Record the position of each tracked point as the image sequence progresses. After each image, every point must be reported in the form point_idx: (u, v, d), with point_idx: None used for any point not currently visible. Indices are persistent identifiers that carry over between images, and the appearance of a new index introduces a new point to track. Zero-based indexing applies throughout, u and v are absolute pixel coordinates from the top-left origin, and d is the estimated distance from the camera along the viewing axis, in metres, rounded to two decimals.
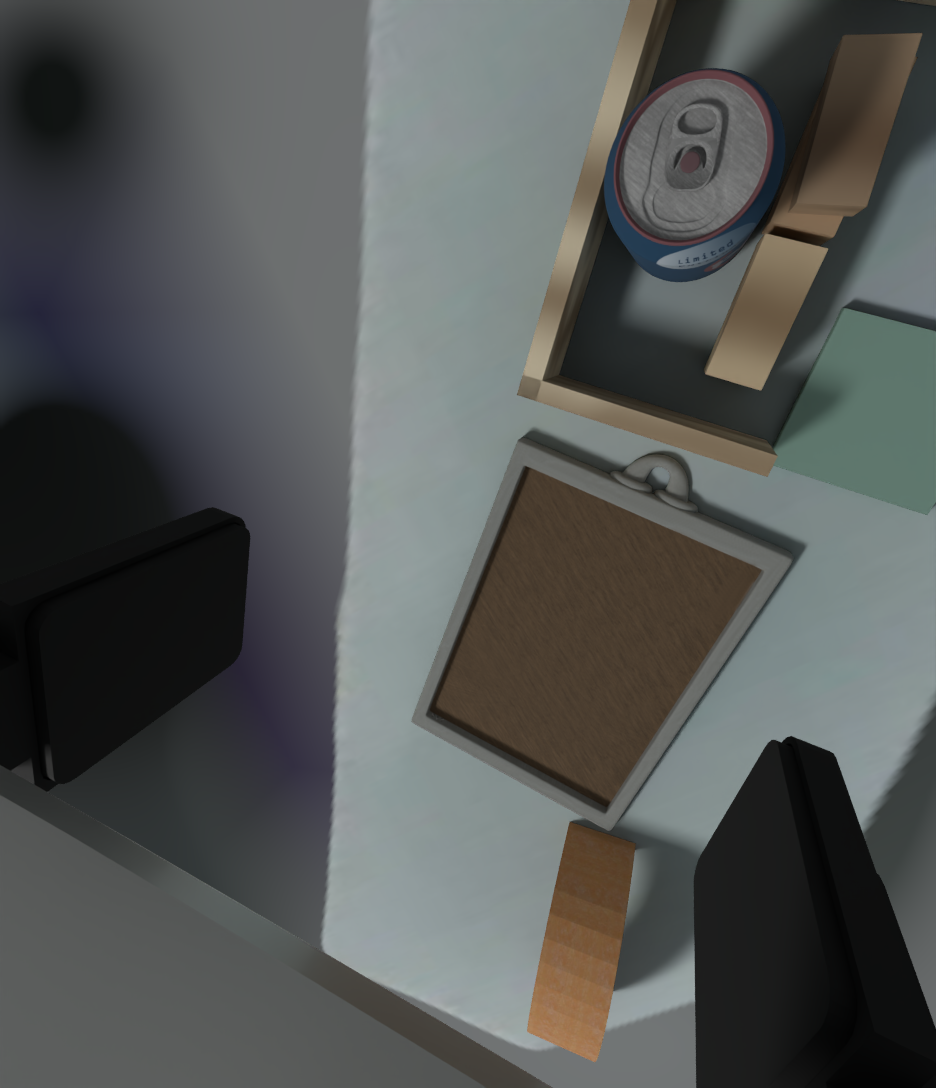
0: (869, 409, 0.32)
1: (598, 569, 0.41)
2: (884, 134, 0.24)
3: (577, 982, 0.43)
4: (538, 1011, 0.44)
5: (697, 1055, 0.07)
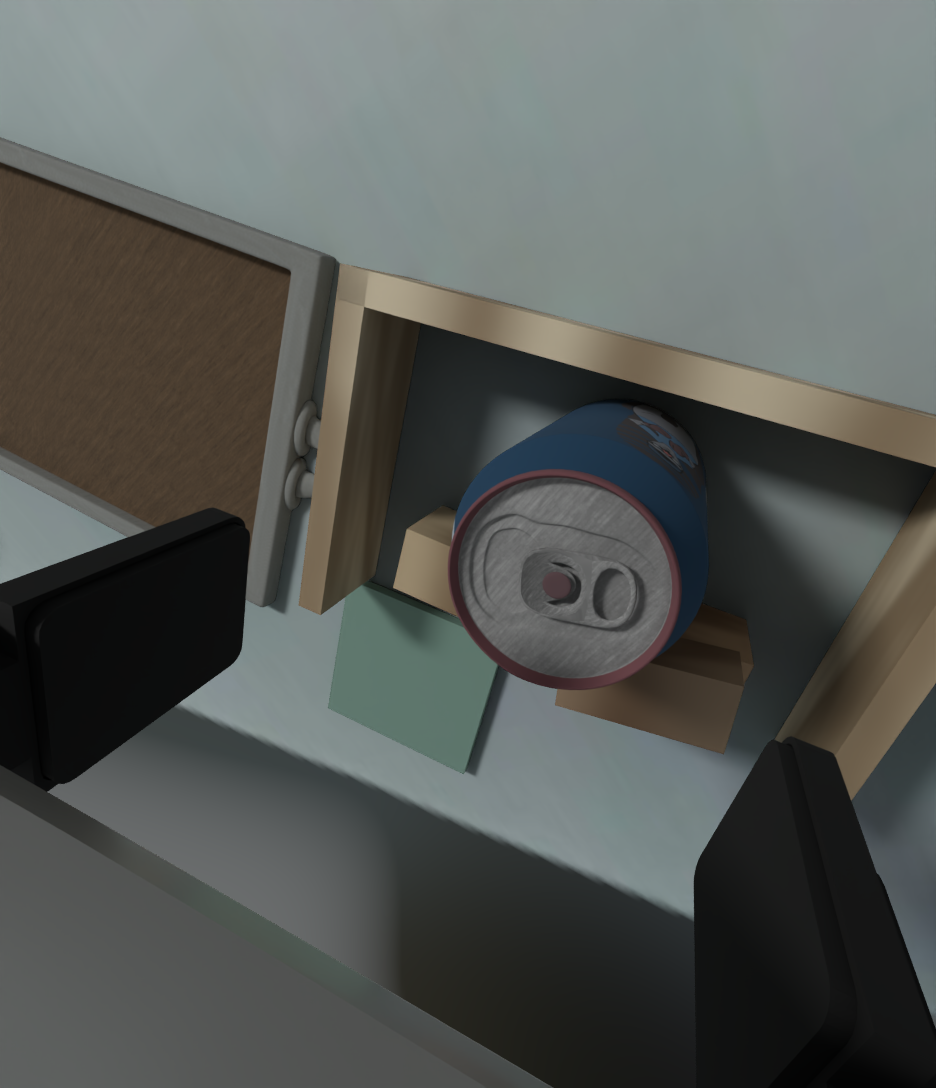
0: (410, 665, 0.31)
1: (201, 394, 0.31)
2: (626, 721, 0.21)
3: None
4: None
5: (697, 1055, 0.07)
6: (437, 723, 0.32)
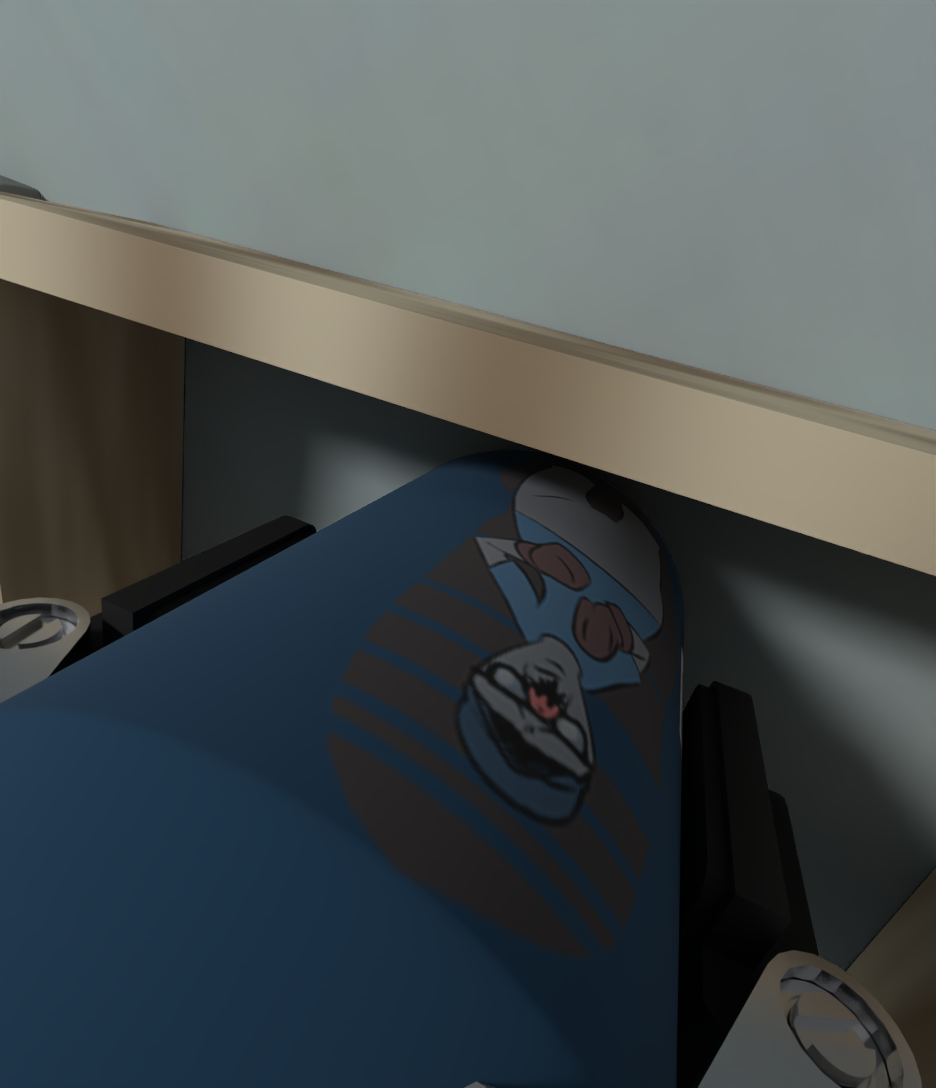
0: None
1: None
2: None
3: None
4: None
5: None
6: None
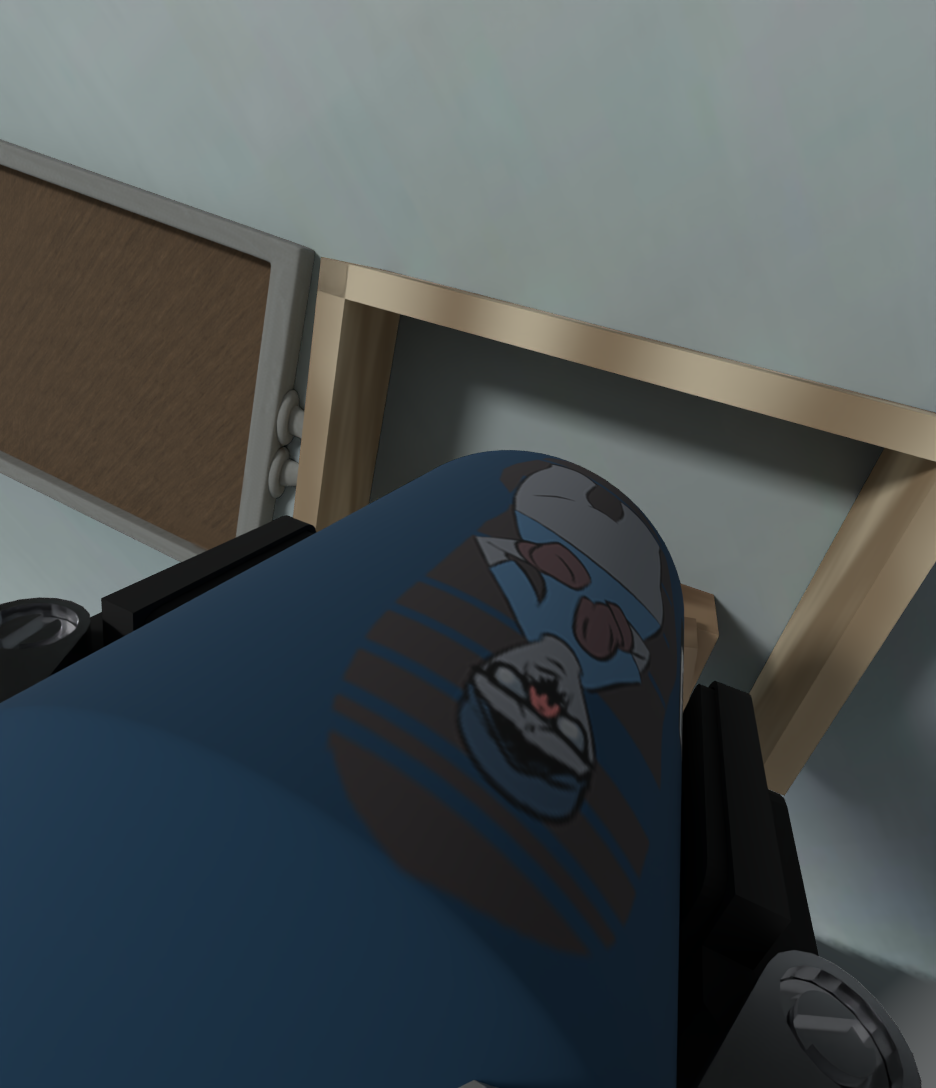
0: None
1: (183, 385, 0.31)
2: None
3: None
4: None
5: None
6: None
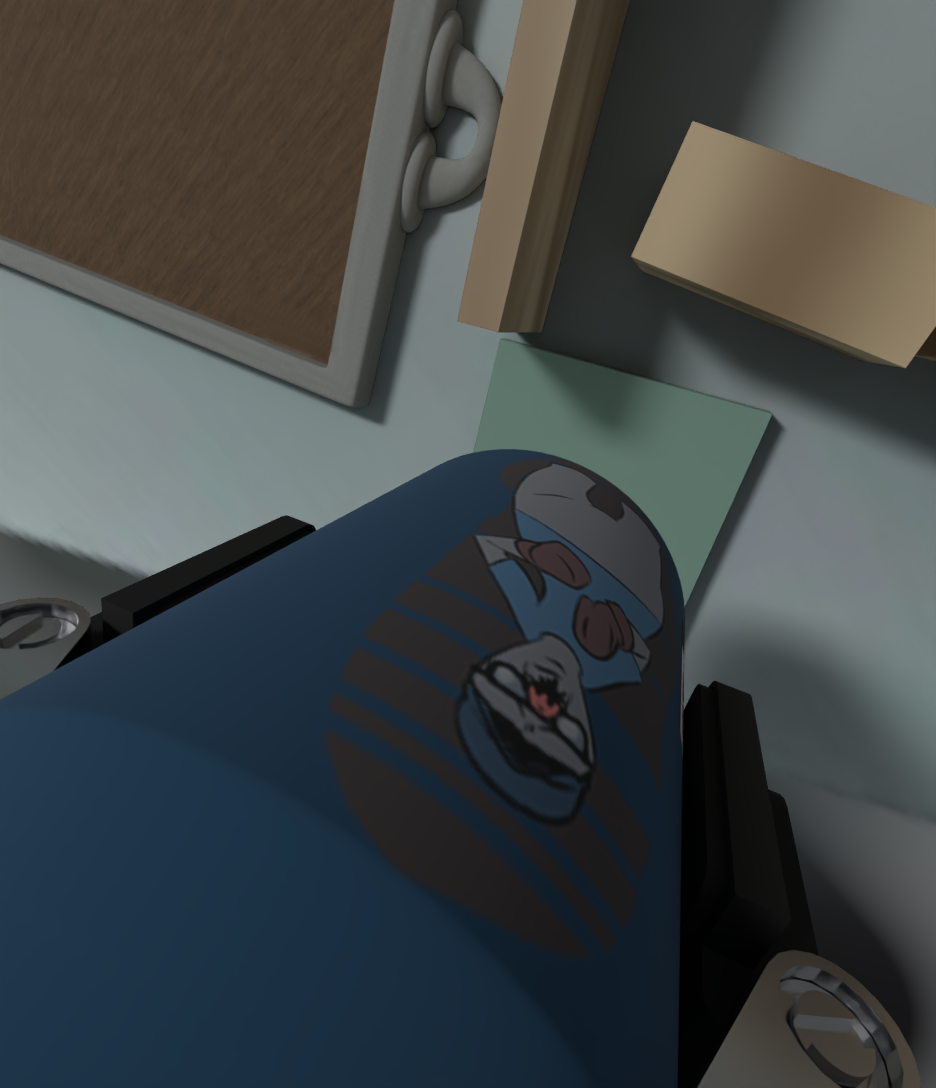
0: None
1: (263, 50, 0.20)
2: None
3: None
4: None
5: None
6: None
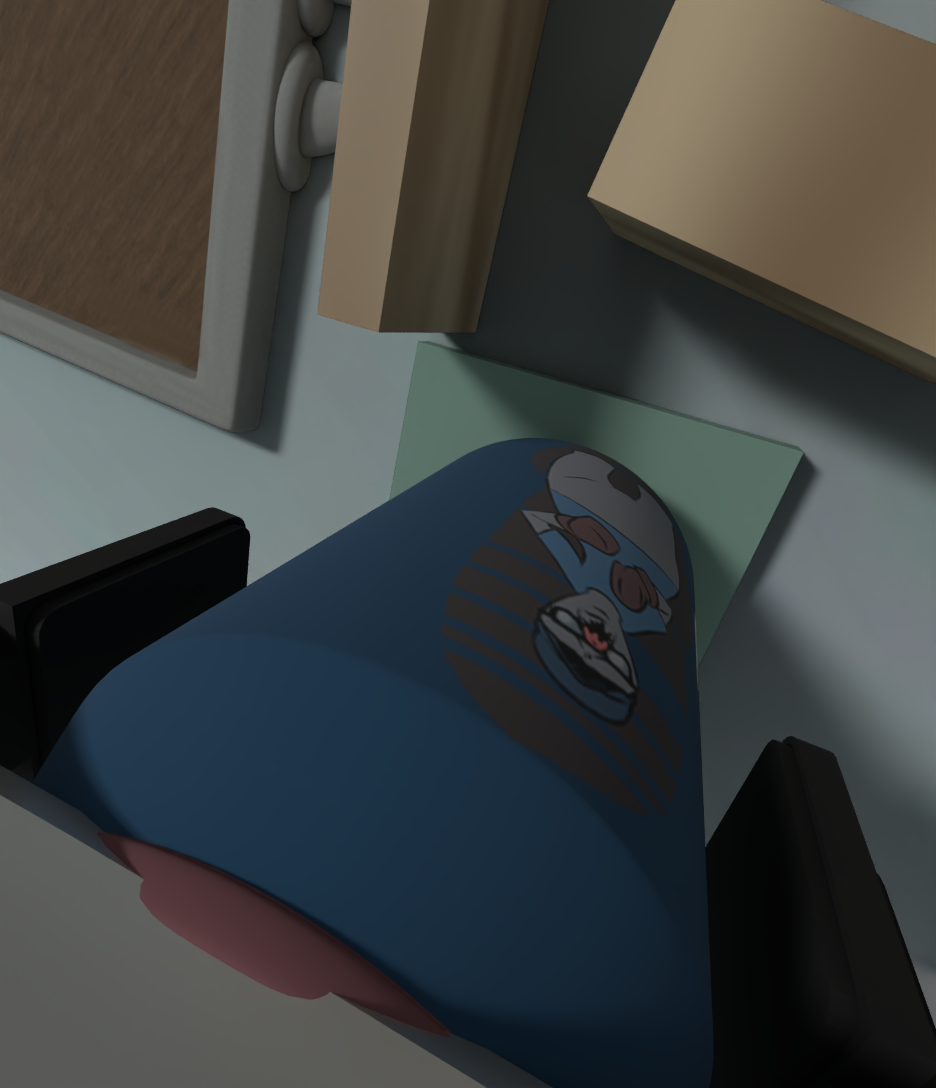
0: None
1: None
2: None
3: None
4: None
5: None
6: None
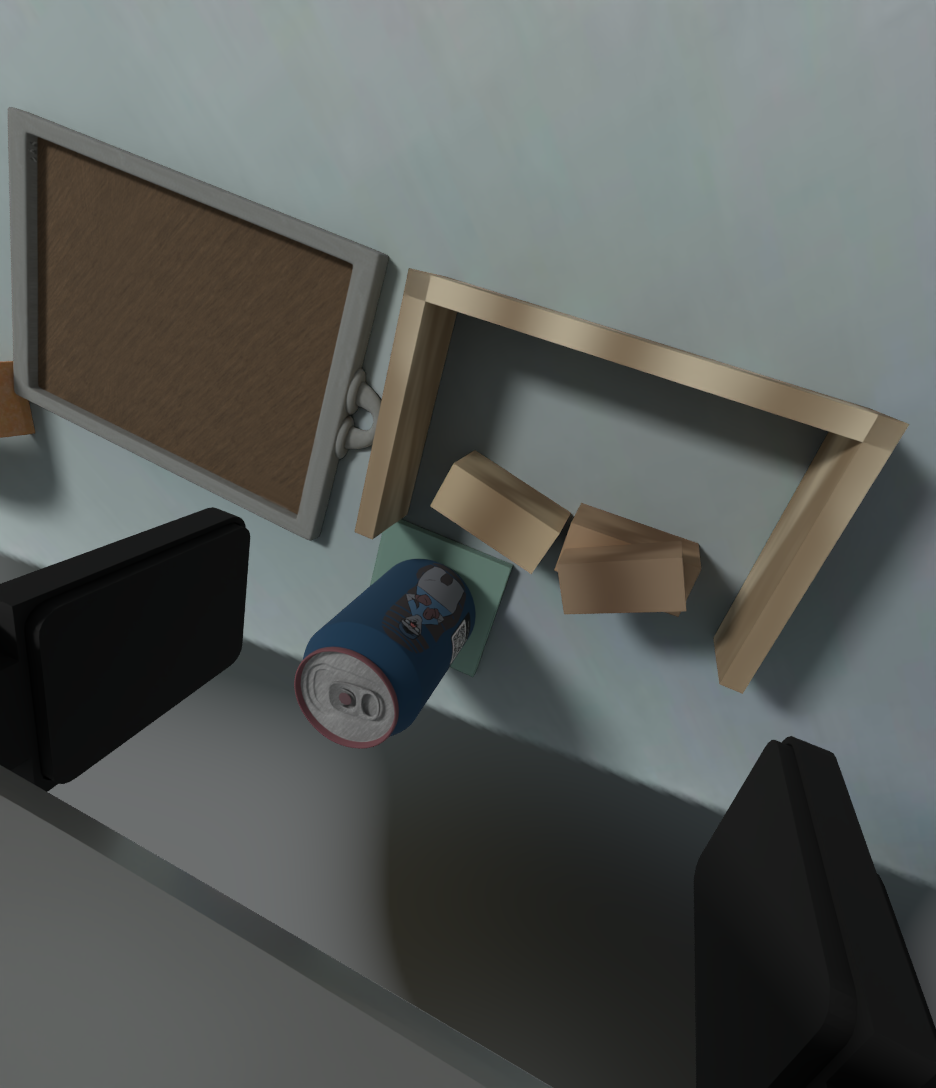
0: None
1: (265, 361, 0.37)
2: (614, 609, 0.29)
3: None
4: None
5: (697, 1055, 0.07)
6: None
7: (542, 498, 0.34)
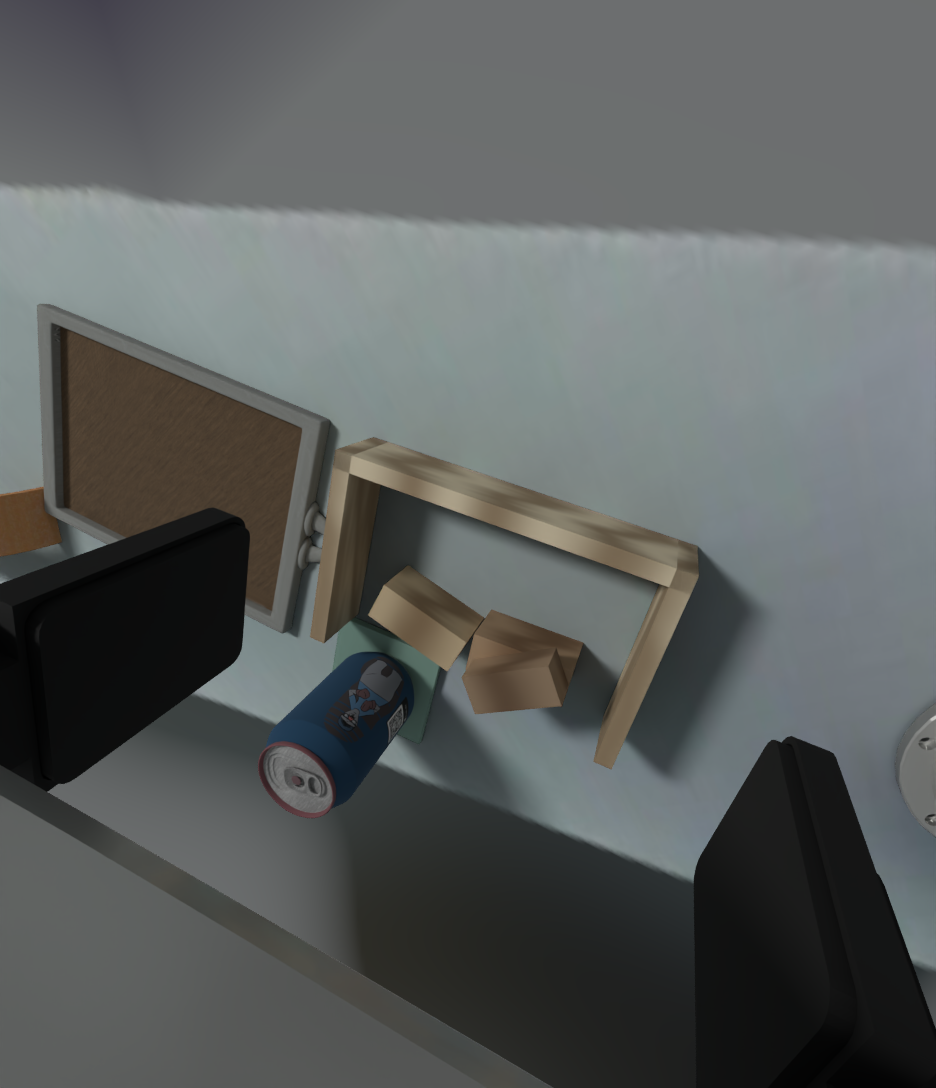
0: None
1: (240, 493, 0.46)
2: (510, 708, 0.37)
3: None
4: None
5: (697, 1055, 0.07)
6: None
7: (460, 606, 0.42)
